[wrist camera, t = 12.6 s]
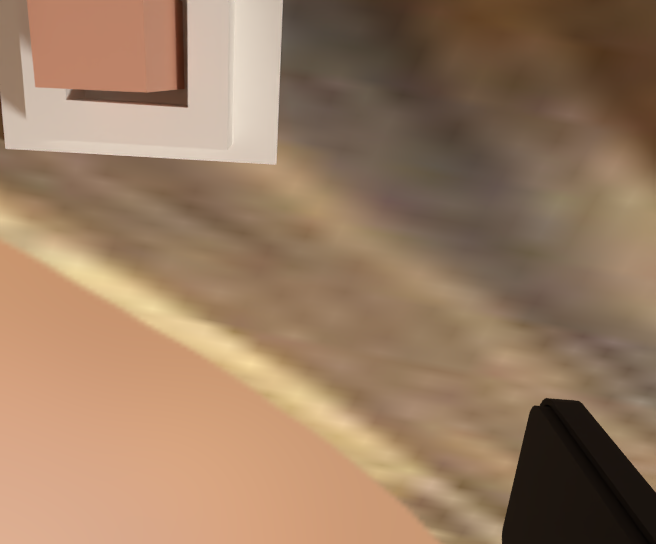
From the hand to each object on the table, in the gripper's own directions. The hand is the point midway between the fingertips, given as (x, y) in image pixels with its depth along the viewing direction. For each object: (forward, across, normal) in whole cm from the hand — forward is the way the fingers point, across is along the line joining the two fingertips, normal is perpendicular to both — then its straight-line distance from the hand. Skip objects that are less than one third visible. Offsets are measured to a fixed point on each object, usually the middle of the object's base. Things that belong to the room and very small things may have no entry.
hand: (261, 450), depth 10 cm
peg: (+26, +9, -7) cm, 28 cm away
